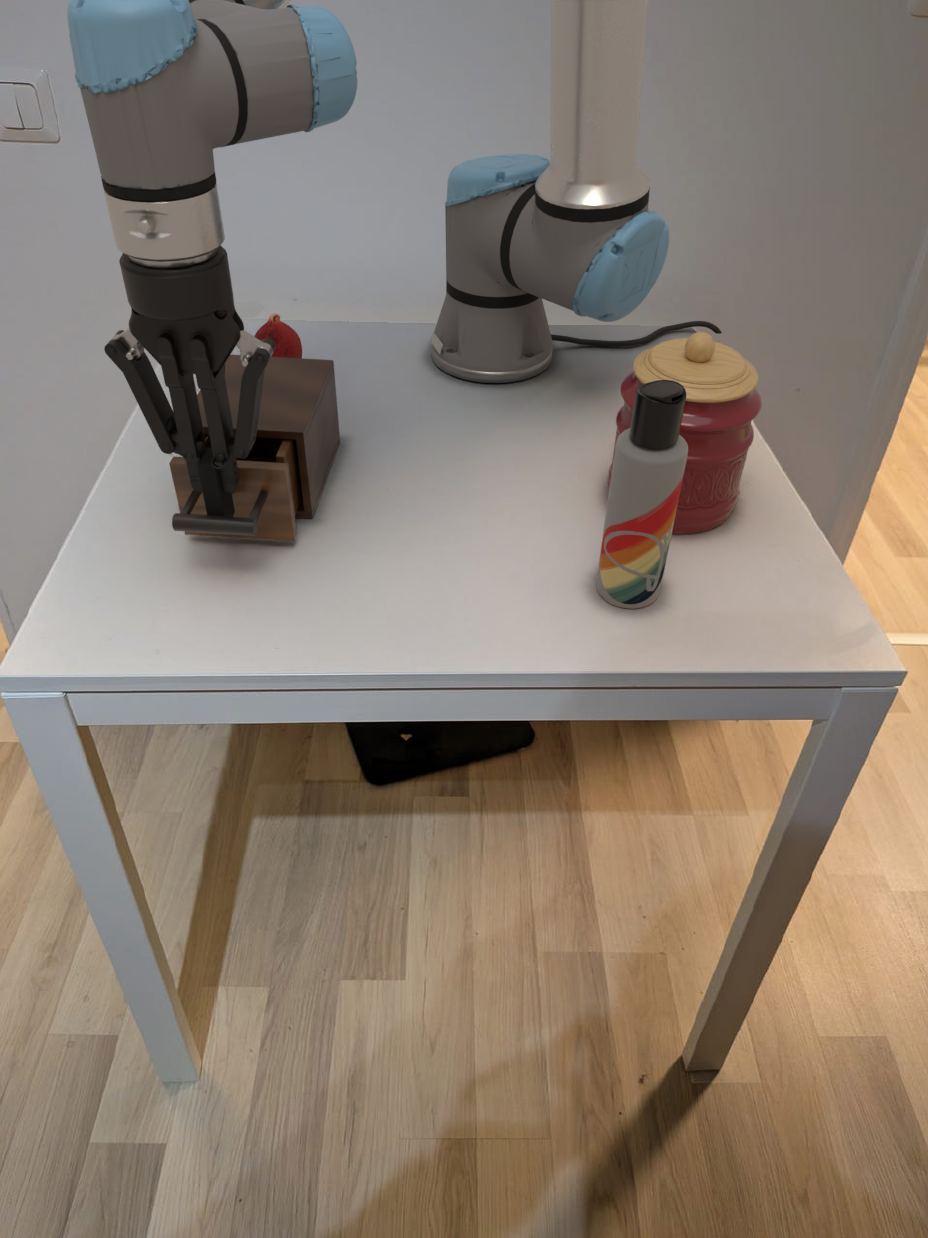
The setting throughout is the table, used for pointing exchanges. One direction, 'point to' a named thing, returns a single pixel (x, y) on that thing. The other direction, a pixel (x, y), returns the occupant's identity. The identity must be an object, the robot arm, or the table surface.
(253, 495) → the drawer
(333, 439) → the cabinet
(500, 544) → the table surface
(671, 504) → the lotion bottle
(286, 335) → the red pomegranate
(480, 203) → the robot arm
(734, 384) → the kitchen canister
